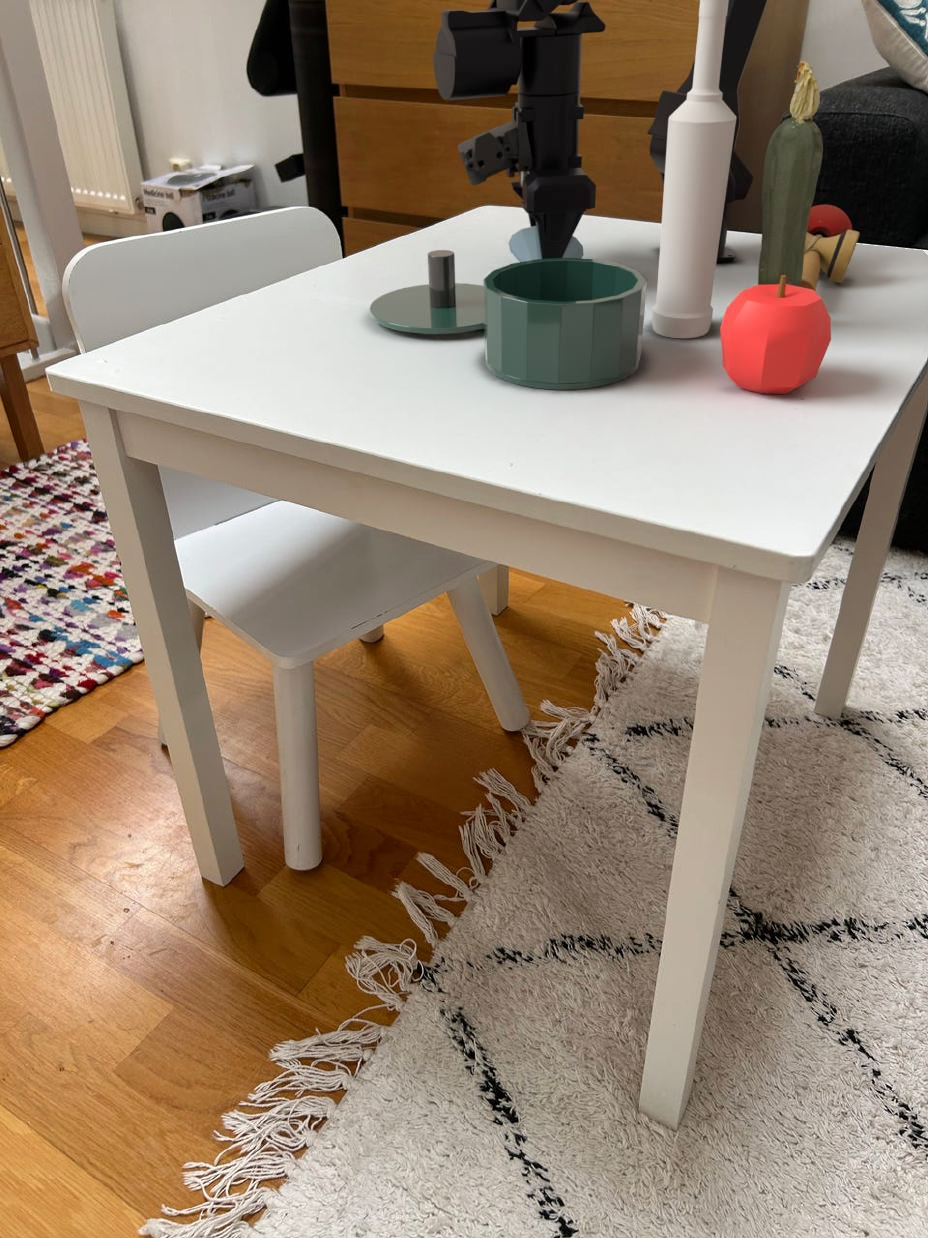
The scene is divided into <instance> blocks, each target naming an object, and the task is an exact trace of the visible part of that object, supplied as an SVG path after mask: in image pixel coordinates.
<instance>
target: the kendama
mask: <svg viewBox="0 0 928 1238" xmlns="http://www.w3.org/2000/svg"><path fill="white" fill-rule="evenodd" d="M859 238H860V232H859V231H856V230H853V225H852V222H851V220H850V218H849V216H848V215H847V214H846V212H845V211H843V210H842V209H841V208H839V207H838V206H835V205H831V204H818V205H814V206H811V210H810V215H809V221H808V227H807V234H806V240H805V247H804V262H803V273H802V279H801V284H800V287H803V288H807V289H812V290H814V291H815V292H816V293H817V287H818V286H817V285H818V281H819V275H820V270H822V271H823V272H824V274H826V277H827V278H828V280H829V281H830V282H832V283H837V284H842V283H843V282H844V279H845V277H846V274H847V271H848V269H849V266H850V263H851V261H852V257H853V255H854V252H855V249H856V247H857V243H858V240H859Z"/></svg>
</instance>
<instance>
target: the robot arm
mask: <svg viewBox="0 0 928 1238" xmlns="http://www.w3.org/2000/svg"><path fill="white" fill-rule="evenodd" d="M768 1H769V0H729V2H728V11H727V16H726V22H725V31H724V41H723V50H722V60H721V69H720V79H719V90H720V91H721V92H722V93H723V94H722V100H723V101H724V102H725V104H726V105H727V106H728V107H729V108H730V110H731V111H732V112H733V113H734V114H735V116H736V124H735V131H734V138H733V146H732V153H731V160H730V167H729V174H728V182H727V189H726V196H725V203H724V211H723V218H722V225H721V232H720V239H719V247H718V254H717V261H716V263H722V262H735V260H736V255H735V254H734V253H733V252H731V250H729V248H727V247H726V245H727V244H726V243H727V235H728V227H729V219H730V211H731V204H732V203H734V202H735V201H741V200H742V201H743V200H745V199H746V198H747V196H748V193H749V191H750V188H751V186H752V184H753V181H754V176H753V175H752V173H751V172H750V170H749V169H748V168H747V167H746V164H744V162H743V160H742V159H741V158H740V157H739V155H738V154H737V153H736V152H735V149H736V145H737V139H738V135H739V130H740V125H741V120H740V105H739V104H740V103H739V86H740V82H741V79H742V77H743V74H744V71H745V68H746V65H747V61H748V59H749V56H750V54H751V50H752V48H753V44H754V41H755V38H756V36H757V33H758V30H759V27H760V23H761V20H762V18H763V15H764V12H765V9H766V6H767V4H768ZM571 5H572V7H571V8H570V9H569V10H568V11H558V12H557V11H556V12H554V10H556V9H557V8H558V7H560V6H563V7H564V6H571ZM519 22H520V23H521V22H522V23H531V22H534V25H533V26H526V27H518V25H519ZM606 27H607V26H606V23H605V22H604V21H603V20H602V19H601V18H600V17H599V15H597V14H596V13H595V12H594V10H593V8H592V5H591V3H590V2H589V1H582V0H491V1H490V2H489V5H488V6H487V8H486V10H473V11H467V10H461V9H443V10H442V11H441V12H440V28H439V30H438V33H437V35H436V41H435V51H434V52H433V54H432V58H433V59H432V60H433V61H432V62H433V72H434V79H435V83H436V84H435V85H436V87H437V90H438V93H439V95H440V97H441V98H442V100H444V101H457V100H470V99H482V98H495V97H504V96H507V95H508V93H510V91H511V88H512V86H517V101H515V103H514V104H515V105H514V106H512V108H511V121H509V122H506V123H504V124H501V125H498V126H495V127H494V128H491V129H486V130H485V131H484V132H482V133H480V134H475V135H473V136H472V137H471V138H469V139H466V140H465V141H463V142H461V143H459V144H458V145H457V147H456V148H457V150H458V153H459V155H460V158H461V162H462V163H463V166H464V169H465V172H466V174H467V178H468V180H469V184H470V185H471V186H477V185H480V184H482V183H484V182H486V181H487V179H488V178H490V177H492V176H496V175H498V174H499V173H501V172H504V171H505V174H506V176H507V177H508V178H509V179H511V178H515V175H516V173H518V181H511V182H509V184H510V186H511V189H512V190H513V192H515V194H517V196H518V197H519V198H520V199H521V200H522V201H520V205H521V207H522V209H523V210H524V211H525V213H526V214H527V215H528V221H529V227H533V226H537V232H538V238H539V245H540V252H541V258H542V259H552V258H563V255H564V253H565V251H566V249H567V247H568V244H569V242H570V240H571V238H572V236H574V233H575V232H576V230H577V227H578V226H579V223H580V222H581V219H582V217H583V215H584V213H585V212H586V211H587V210H591V209H592V210H593V209H594V208H596V198H597V197H596V196H597V185H596V184H595V182H593V180H592V179H591V178H590V177H589V175H587V173H585V171H584V170H583V169H582V163H583V155H582V154H580V153H579V140H580V138H579V133H580V120H584V113H585V112H584V111H585V106H583V105H582V104H581V81H582V54H583V53H582V52H583V34H594V33H603V32H604V31H605V30H606ZM695 57H696V55H695V56H694V59H693V63H692V66H691V69H690V71H689V74H688V75H687V78H686V79H685V80H684V82H683V83H682V84H681V85H680V87H678V89H677V90H676V91H672V90H667V89H664V90H662V92H661V93H660V96H659V98H658V103H657V109H656V112H655V117H654V119H653V122H652V124H651V126H650V127H649V128H648V130H647V133H646V134H647V135H649V136H651V138H650V143H649V156H650V157H651V159H652V162H653V165H654V166H655V168H656V169H657V170H658V171H659V174H660V179H661V184H662V188H663V189H664V180H665V165H666V150H667V135H668V120H669V116H670V115H671V114H673V113H674V112H675V111H676V110H677V109H678V108H679V107H680V106H681V105H682V104H683V103H684V102H685V101H686V100H687V93H688V92H690V91H691V90H692V87H693V77H694V67H695Z"/></svg>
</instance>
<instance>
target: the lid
mask: <svg viewBox="0 0 928 1238" xmlns="http://www.w3.org/2000/svg"><path fill="white" fill-rule="evenodd" d="M455 257H456V256H455V252H454V251H452V250H447V249H435V250H431V251H429V252H427V273H428V284H427V283H426V284H420V285H413V286H408V287H403V288H399V289H396V290H393V291H390V292H387V293H385V294H382V295H380V296H379V297H377V298H375V299H374V300H373V301H372V302H371V304H370V306H369V314H370V317H371V319H372V320H373V321H374V322H375V323H376V324H378V325H380V326H383V327H385V328H387V329H391V330H394V331H400V332H406V333H413V334H425V335H445V334H460V333H467V332H468V333H469V332H473V331H478V330H479V331H480V330H484V285H481V284H473V283H462V282H461V283H459V282H456V264H455V263H456V262H455V260H456V258H455Z"/></svg>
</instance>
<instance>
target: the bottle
mask: <svg viewBox="0 0 928 1238" xmlns="http://www.w3.org/2000/svg"><path fill="white" fill-rule="evenodd" d="M728 2H729V0H699V9H698V10H699V11H698V25H697V26H698V27H697V38H696V47H695V56H696V57H695V56H694V59H695V67H694V77H693V87H692V90H691V91H690V92H688V93H687V100H686V101H685V102H684V103H683V104H682V105H681V106H680V107H679V108H678V109H677V110H676V111H675V112H674V113H673V114H671V115H670V116H669V120H668V135H667V150H666V165H665V180H664V188H663V194H662V195H663V198H662V212H661V226H660V227H661V228H660V243H659V244H660V245H659V255H658V256H659V258H658V272H657V273H658V274H657V286H656V287H657V288H656V302H655V303H654V305H653V307H652V312H651V324H652V330H653V331H654V332H655V333H656V334H657V335H660V336H663V337H667V338H672V339H695V338H699V337H703V336H705V335H706V334H708V333H709V331H710V328H711V325H712V321H713V314H714V307H713V306H712V305H711V303H712V297H713V296H712V295H713V290H714V283H715V282H714V281H715V276H716V275H715V274H716V268H717V262H716V261H717V254H718V247H719V239H720V232H721V225H722V218H723V211H724V203H725V196H726V189H727V182H728V174H729V167H730V160H731V153H732V146H733V138H734V131H735V124H736V116H735V114H734V113H733V112H732V111H731V110H730V108H729V107H728V106H727V105H726V104H725V102H724V101H723V100H722V94H723V93H722V92H721V91H720V90H719V79H720V69H721V60H722V50H723V41H724V31H725V22H726V16H727V11H728Z"/></svg>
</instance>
